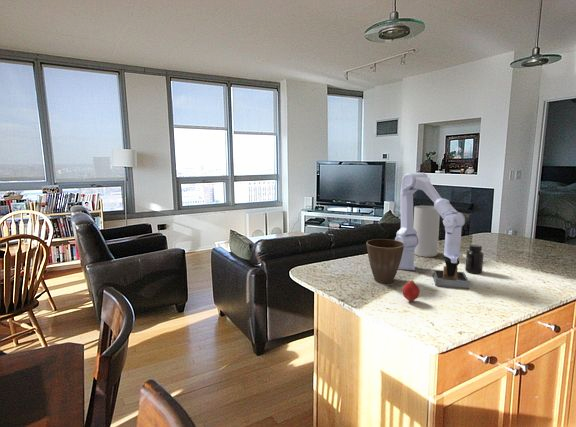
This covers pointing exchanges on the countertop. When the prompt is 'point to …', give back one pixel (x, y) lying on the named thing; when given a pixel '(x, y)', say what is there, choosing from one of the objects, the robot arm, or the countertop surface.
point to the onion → (410, 291)
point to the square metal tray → (450, 280)
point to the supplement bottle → (474, 259)
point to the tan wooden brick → (447, 274)
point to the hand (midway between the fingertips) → (450, 275)
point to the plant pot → (384, 258)
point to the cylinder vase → (426, 230)
